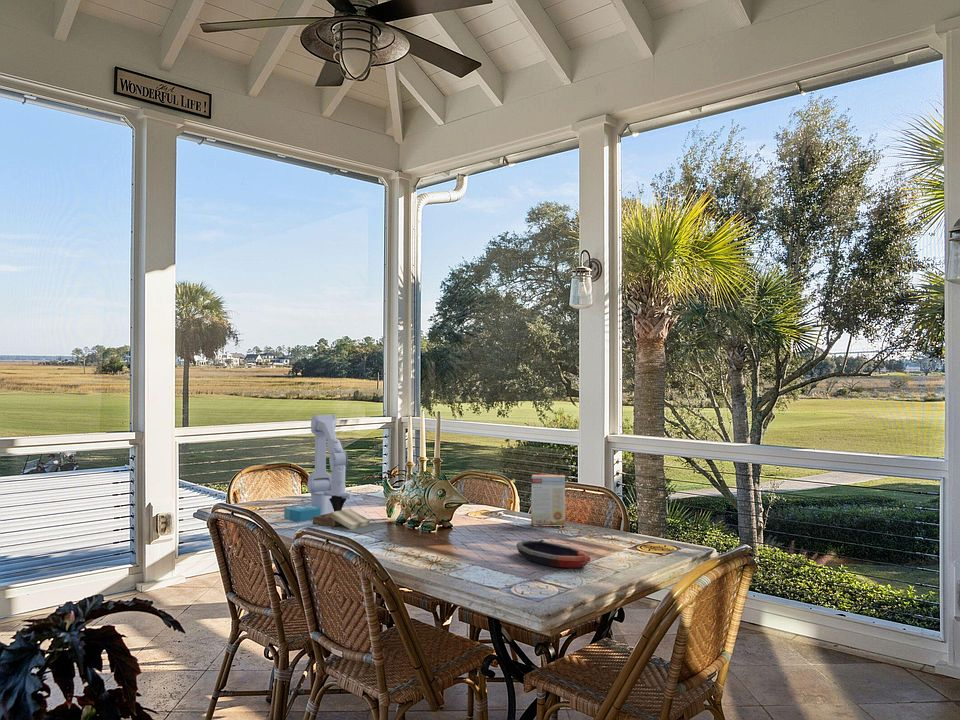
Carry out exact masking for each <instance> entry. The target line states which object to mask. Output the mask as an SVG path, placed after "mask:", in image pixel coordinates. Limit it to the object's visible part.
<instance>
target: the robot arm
mask: <svg viewBox="0 0 960 720" xmlns="http://www.w3.org/2000/svg"><path fill="white" fill-rule="evenodd" d="M337 422H338V420H337V416H336V415H335V414H313V415H312V416H311V419H310V431H311V434H314V471H313V472H312V473H310V474H309V475H308V477H307V478H308V479H307V485H306V486H307V492H308V493H309V494H310V505H312V506H316V507H320V508H321V515H323V514H328V513H331V512H336V511H340V510H343V507H344V504H345V502H346V501H347V499H348V500H352V499H354V494H353V493H351V492H350V493H349V492H346V467H347V466H348V463H349V456H348V452H347V451H346V450H344V449H343V446H342V443H341V441H340V439H338V438H337V436H336V431H335V430H336V426H337ZM327 451H328V454H329V459H328V461H329V466H330V467H329V469H330V471H331V472H330V473H331V474H330V473H329V472H328V471H327Z"/></svg>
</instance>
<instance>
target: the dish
mask: <svg viewBox="0 0 960 720" xmlns="http://www.w3.org/2000/svg"><path fill="white" fill-rule="evenodd" d="M516 548H517V551H518V553H519V554H520V555H521V557H523V558H525V559H526V560H529V561H530V562H533V563H537V564H541V565H543V566H549V567H554V568H560V569H561V568H563V569H564V568H565V569H566V568H567V569H575V568H582V567H585V566H587V564H588V563H589V562H591V557H590V556H589V555H588V554H587V553H586V552H584V550H581V549H578V548H575V547H571V546H568V545H564V544H558V543H554V542H550V541H549V542H548V541H545V540H544V539H540V540H520V541H518V542H517V543H516Z"/></svg>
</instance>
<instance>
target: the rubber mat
mask: <svg viewBox="0 0 960 720" xmlns="http://www.w3.org/2000/svg"><path fill="white" fill-rule="evenodd" d="M386 528H389V527H388V525H381V524H377V523H369V525H367V526H363V527H359V528H355V529H349V528H347V527H345V526H344V525H342V526H338V527H330V529H331V530H334V531H335V530H336V531H341V532H348V533H354V534H359V535H362V534H363V535H364V534H367V533H371V532H374V531H379V530H381V529H386Z"/></svg>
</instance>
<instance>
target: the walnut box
mask: <svg viewBox="0 0 960 720" xmlns="http://www.w3.org/2000/svg"><path fill="white" fill-rule="evenodd" d="M312 525H317V526H321V527H329V528H333V527H338V526H342V524H340V523H339V522H337V521H335V520H333V519H332V518H330V513H328V514H323V515H318V516H314V517H313V520H312Z"/></svg>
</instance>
